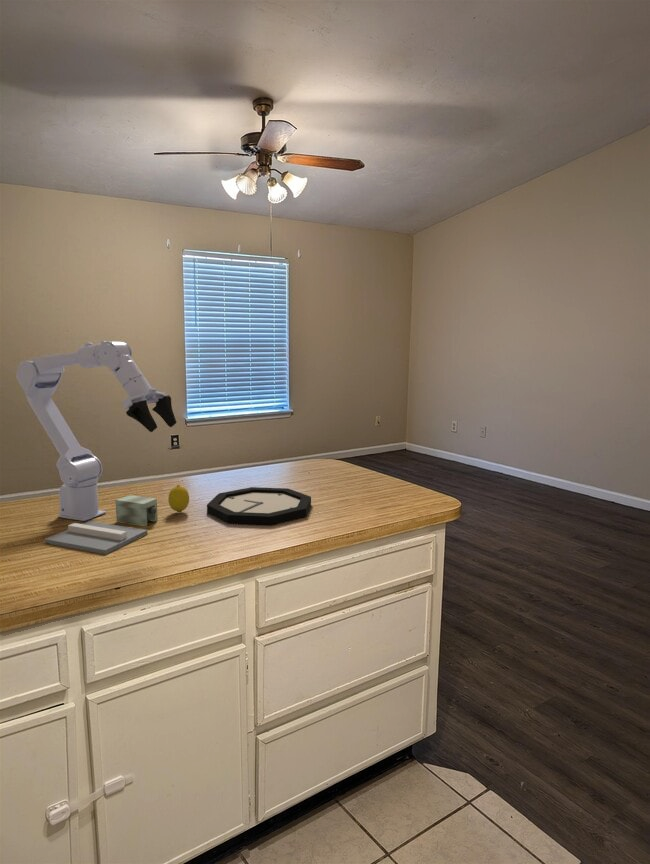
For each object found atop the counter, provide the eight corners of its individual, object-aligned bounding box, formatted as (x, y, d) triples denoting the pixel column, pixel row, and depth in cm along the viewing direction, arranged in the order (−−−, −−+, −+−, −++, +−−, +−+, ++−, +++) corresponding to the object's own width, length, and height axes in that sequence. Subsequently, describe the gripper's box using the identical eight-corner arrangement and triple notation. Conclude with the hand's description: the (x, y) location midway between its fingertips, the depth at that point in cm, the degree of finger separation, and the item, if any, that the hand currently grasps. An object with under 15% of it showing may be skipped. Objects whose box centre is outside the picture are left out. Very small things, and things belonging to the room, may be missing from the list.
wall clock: (331, 495, 158) (275, 524, 132) (331, 504, 158) (276, 535, 132) (248, 482, 172) (183, 506, 145) (248, 491, 172) (184, 516, 146)
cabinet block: (116, 522, 140) (115, 499, 139) (130, 516, 144) (129, 494, 144) (148, 527, 136) (147, 504, 135) (161, 520, 141) (160, 499, 140)
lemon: (168, 510, 149) (167, 483, 148) (188, 509, 151) (187, 481, 150) (169, 516, 144) (168, 488, 143) (190, 514, 146) (189, 486, 145)
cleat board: (44, 543, 124) (44, 532, 124) (90, 524, 137) (89, 515, 137) (105, 554, 118) (105, 543, 118) (147, 534, 131) (147, 524, 130)
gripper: (123, 375, 124) (155, 422, 123) (162, 371, 138) (191, 414, 137) (105, 392, 127) (136, 439, 126) (145, 387, 140) (174, 429, 139)
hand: (164, 427), depth 131 cm, fingers open, 7 cm apart
